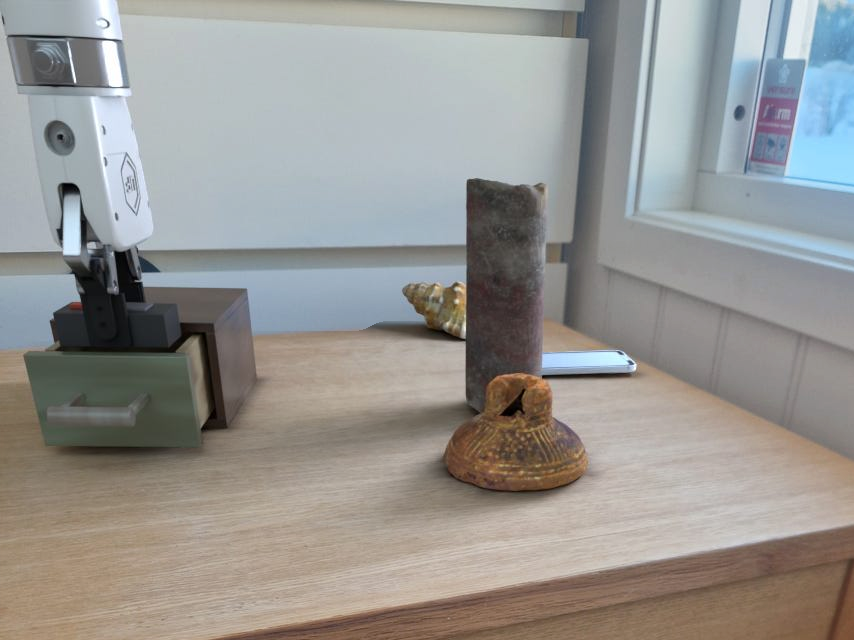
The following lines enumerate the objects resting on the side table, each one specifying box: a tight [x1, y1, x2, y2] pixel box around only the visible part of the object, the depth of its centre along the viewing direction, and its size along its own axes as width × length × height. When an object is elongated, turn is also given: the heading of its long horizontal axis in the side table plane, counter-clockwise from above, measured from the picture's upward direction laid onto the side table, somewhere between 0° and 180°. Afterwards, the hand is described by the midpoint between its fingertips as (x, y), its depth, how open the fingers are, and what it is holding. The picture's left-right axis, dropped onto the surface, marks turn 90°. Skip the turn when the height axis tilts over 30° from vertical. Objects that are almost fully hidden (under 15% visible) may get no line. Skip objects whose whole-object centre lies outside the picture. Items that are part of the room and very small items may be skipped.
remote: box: [52, 301, 181, 348], centre depth 71 cm, size 8×4×3 cm, turn 92°
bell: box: [443, 373, 589, 492], centre depth 71 cm, size 12×12×7 cm
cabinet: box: [49, 286, 258, 429], centre depth 83 cm, size 16×14×9 cm
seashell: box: [401, 281, 466, 340], centre depth 112 cm, size 9×8×10 cm
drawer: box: [22, 332, 216, 448], centre depth 73 cm, size 20×12×7 cm, turn 2°
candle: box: [464, 177, 549, 414], centre depth 81 cm, size 8×7×20 cm
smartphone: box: [542, 349, 637, 376], centre depth 99 cm, size 7×1×15 cm
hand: (121, 337), depth 71 cm, fingers closed on remote, 4 cm apart
